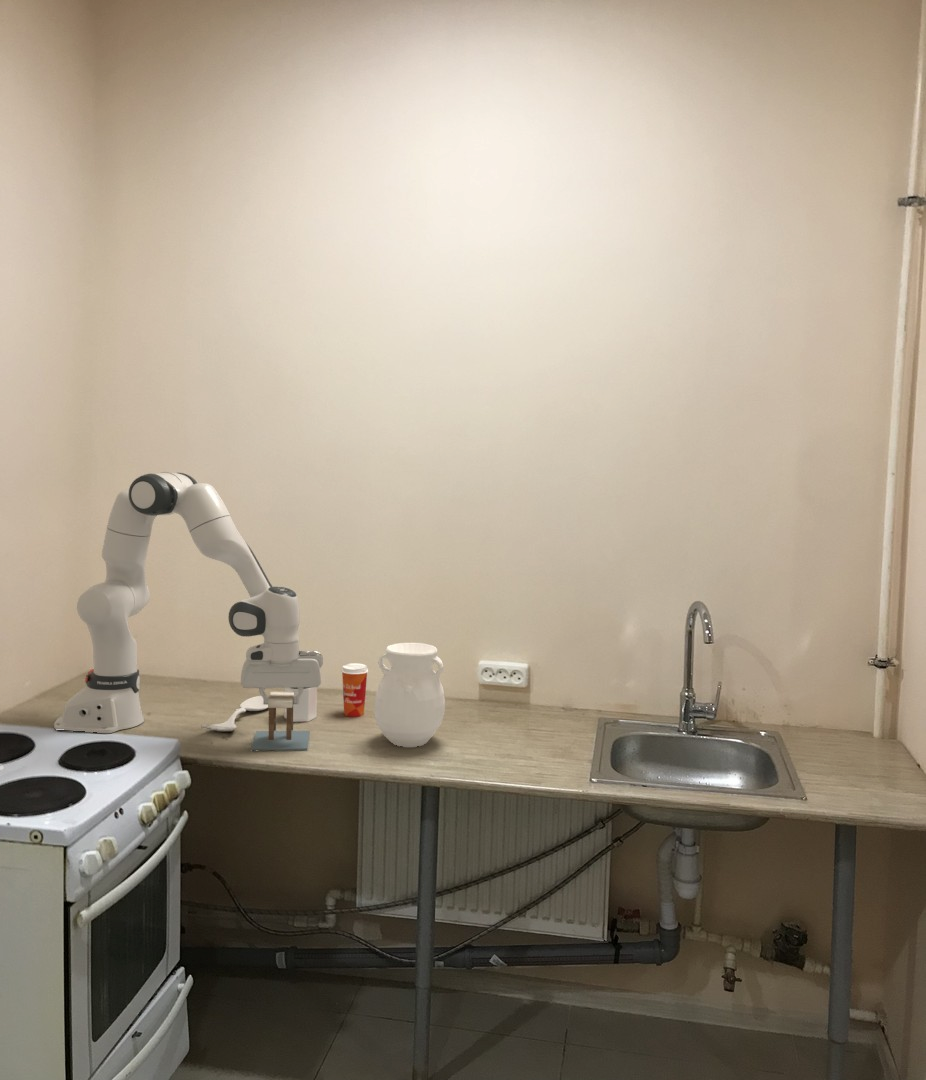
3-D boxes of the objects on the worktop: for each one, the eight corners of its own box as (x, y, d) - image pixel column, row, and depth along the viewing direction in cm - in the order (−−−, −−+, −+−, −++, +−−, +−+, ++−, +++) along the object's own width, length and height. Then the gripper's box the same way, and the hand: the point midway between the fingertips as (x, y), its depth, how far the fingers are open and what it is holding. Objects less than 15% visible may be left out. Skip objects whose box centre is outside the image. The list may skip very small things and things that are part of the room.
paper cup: (335, 715, 261) (335, 667, 260) (350, 708, 268) (351, 661, 266) (357, 719, 258) (358, 671, 256) (373, 712, 264) (374, 665, 263)
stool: (270, 729, 240) (270, 691, 239) (293, 728, 241) (294, 691, 240) (267, 740, 232) (267, 701, 230) (291, 740, 232) (292, 701, 231)
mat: (250, 751, 230) (250, 749, 230) (256, 733, 244) (256, 731, 244) (307, 750, 232) (307, 748, 232) (309, 732, 245) (309, 730, 245)
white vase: (452, 734, 247) (455, 643, 244) (432, 756, 230) (434, 659, 227) (387, 726, 252) (389, 637, 249) (362, 748, 235) (364, 652, 232)
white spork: (199, 736, 240) (199, 724, 240) (249, 702, 271) (249, 691, 271) (231, 739, 239) (231, 727, 238) (278, 705, 270) (278, 693, 269)
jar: (321, 719, 257) (322, 677, 256) (295, 724, 252) (296, 681, 251) (305, 711, 264) (305, 670, 263) (279, 716, 259) (280, 674, 257)
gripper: (323, 648, 238) (322, 700, 240) (242, 648, 236) (242, 700, 237) (322, 653, 232) (321, 707, 234) (239, 654, 230) (239, 707, 231)
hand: (281, 703), depth 236 cm, fingers closed on stool, 6 cm apart
